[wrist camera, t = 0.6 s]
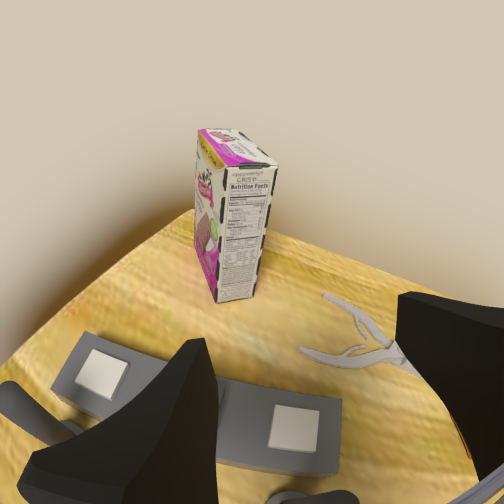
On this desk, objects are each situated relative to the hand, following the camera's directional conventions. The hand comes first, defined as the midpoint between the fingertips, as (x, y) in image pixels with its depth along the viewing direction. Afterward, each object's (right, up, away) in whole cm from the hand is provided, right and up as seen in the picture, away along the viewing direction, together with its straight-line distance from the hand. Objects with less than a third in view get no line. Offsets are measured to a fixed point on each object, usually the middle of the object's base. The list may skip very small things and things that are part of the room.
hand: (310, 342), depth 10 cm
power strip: (-7, -11, +11) cm, 17 cm away
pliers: (+11, -8, +20) cm, 24 cm away
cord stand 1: (-17, -13, +6) cm, 22 cm away
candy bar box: (-6, +1, +27) cm, 27 cm away
